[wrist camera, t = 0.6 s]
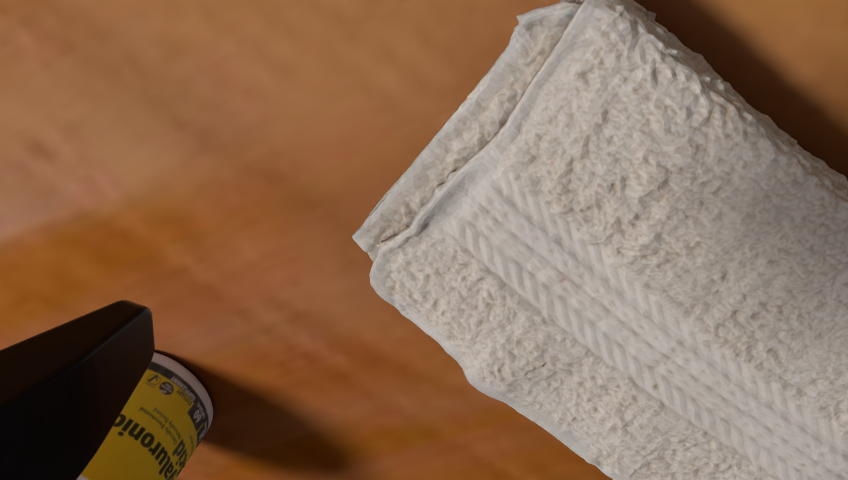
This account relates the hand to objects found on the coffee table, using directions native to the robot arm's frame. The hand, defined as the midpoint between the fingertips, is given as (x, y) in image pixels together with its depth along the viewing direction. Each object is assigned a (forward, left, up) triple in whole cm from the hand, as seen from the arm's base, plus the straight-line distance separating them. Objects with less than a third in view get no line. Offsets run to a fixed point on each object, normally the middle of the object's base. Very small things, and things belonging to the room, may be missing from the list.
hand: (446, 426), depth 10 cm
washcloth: (-5, -5, -13) cm, 15 cm away
